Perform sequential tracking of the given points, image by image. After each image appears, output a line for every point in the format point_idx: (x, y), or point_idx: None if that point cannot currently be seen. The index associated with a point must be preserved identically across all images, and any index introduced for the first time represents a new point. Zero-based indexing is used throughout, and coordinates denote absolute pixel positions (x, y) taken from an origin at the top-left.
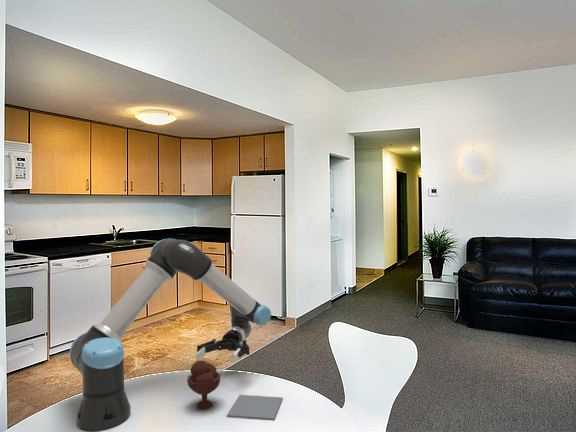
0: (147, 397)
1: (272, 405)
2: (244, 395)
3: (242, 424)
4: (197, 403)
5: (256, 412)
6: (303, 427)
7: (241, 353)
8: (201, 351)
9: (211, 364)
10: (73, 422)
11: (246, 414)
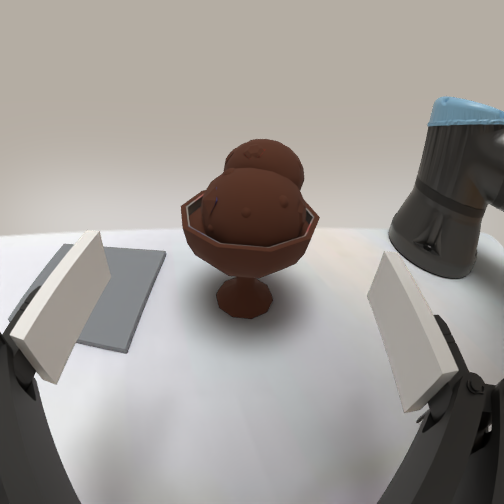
0: None
1: None
2: (107, 342)
3: (130, 236)
4: (270, 294)
5: None
6: (32, 234)
7: (33, 296)
8: (404, 301)
9: (225, 178)
10: None
11: (116, 253)
